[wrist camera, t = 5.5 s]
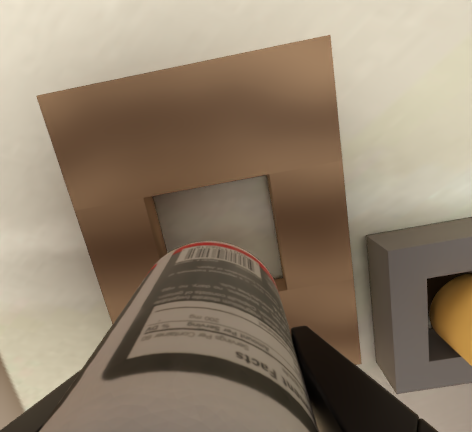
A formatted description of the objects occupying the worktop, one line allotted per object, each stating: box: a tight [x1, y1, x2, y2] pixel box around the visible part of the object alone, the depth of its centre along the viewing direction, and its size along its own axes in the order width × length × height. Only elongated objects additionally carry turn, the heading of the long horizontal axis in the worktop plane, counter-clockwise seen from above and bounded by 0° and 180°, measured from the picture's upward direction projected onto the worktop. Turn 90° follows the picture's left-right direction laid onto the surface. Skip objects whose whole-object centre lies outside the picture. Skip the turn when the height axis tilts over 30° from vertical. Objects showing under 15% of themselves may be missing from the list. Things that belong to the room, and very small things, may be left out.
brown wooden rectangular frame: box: [37, 35, 361, 365], centre depth 16 cm, size 18×14×2 cm
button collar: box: [366, 217, 472, 394], centre depth 17 cm, size 9×9×2 cm
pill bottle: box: [39, 241, 319, 432], centre depth 6 cm, size 5×5×8 cm
